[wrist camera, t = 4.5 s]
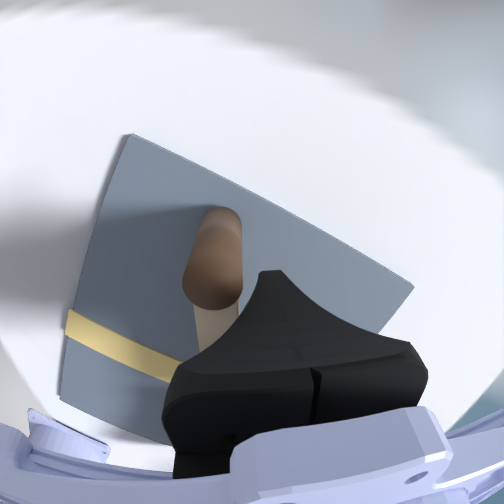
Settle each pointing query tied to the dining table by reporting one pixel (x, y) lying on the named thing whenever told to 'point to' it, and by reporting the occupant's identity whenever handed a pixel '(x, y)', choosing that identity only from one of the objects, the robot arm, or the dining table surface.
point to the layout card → (170, 282)
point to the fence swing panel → (215, 274)
